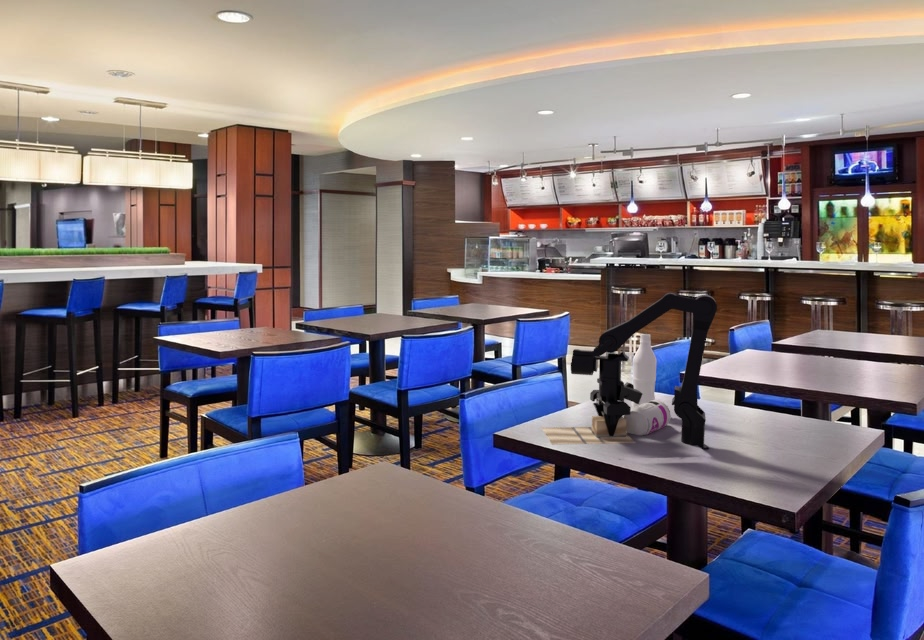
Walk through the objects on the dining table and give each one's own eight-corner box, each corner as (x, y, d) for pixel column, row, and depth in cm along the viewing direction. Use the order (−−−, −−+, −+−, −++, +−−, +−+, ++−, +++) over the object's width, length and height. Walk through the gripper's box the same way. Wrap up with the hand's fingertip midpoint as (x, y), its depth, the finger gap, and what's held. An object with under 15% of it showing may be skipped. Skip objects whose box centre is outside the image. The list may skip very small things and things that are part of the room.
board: (635, 447, 175) (635, 442, 175) (551, 448, 174) (551, 444, 174) (618, 430, 191) (618, 426, 191) (541, 431, 190) (541, 427, 190)
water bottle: (657, 417, 206) (660, 336, 203) (634, 417, 206) (636, 336, 204) (651, 411, 213) (654, 333, 211) (629, 411, 213) (631, 333, 211)
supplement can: (676, 411, 191) (654, 421, 179) (662, 433, 194) (638, 445, 183) (653, 393, 195) (630, 402, 183) (639, 415, 198) (615, 425, 187)
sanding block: (625, 436, 181) (626, 420, 180) (596, 437, 180) (596, 420, 180) (620, 431, 186) (620, 415, 185) (591, 432, 185) (592, 416, 185)
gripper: (651, 382, 172) (649, 442, 174) (629, 369, 191) (627, 423, 193) (608, 383, 172) (606, 443, 173) (590, 370, 190) (589, 424, 192)
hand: (608, 433), depth 183 cm, fingers closed on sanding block, 5 cm apart
